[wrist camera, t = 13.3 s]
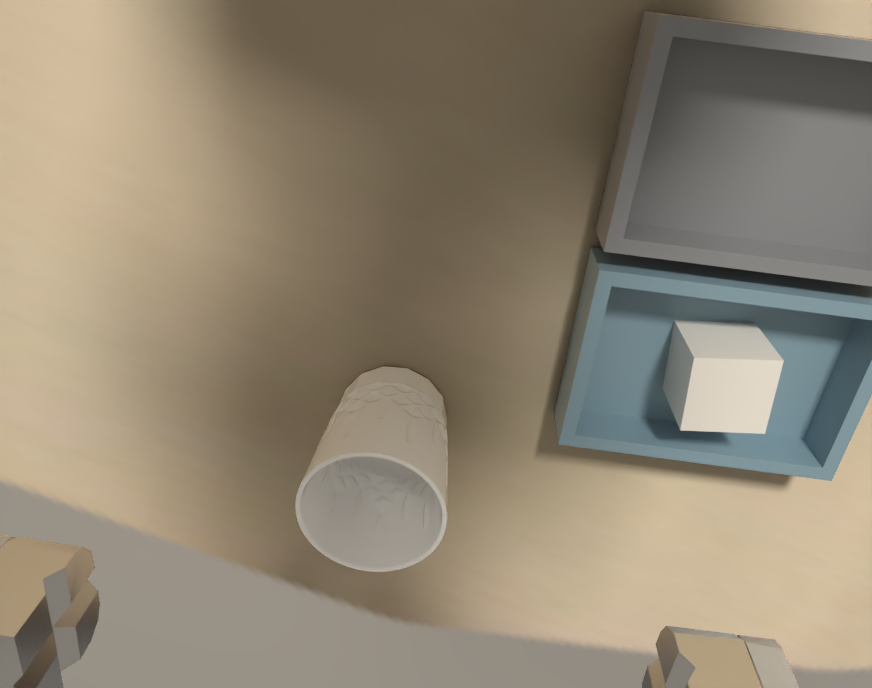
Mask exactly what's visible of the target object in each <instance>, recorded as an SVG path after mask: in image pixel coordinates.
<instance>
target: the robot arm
mask: <svg viewBox="0 0 872 688" xmlns="http://www.w3.org/2000/svg"><path fill="white" fill-rule="evenodd" d="M94 568H95V566H94V561H93V556H92V551H91V550H89V549H87V548H84V547H78V546H72V545H65V544H59V543H53V542H47V541H41V540H35V539H29V538H22V537H13V536H6V535H0V688H63V682H62V676H61V671H63V670H64V669H66V668H67V667H69V666H70V665H72V664H74V663H75V662H77V661H78V660H80V659H81V657H82V655H83V654H84V652H85V650H86V649H87V647H88V645H89V643H90V642H91V639H92V637H93V634H94V630H95V628H96V625H97V622H98V617H99V607H100V601H99V593H98V590H97V589H96V588H95V587H94V586H93V585H92V584H91V583H90V582H89V581H88V577H89V576H90V574H91V573H92V571H93V570H94ZM656 647H657V651H658V656H659V659H658V660H656V661H655V662H653V663H651V664H650V665H648V666H647V670H646V673H645V676H644V679H643V682H642V688H799V686H798V683H797V681H796V679H795V677H794V674H793V672H792V670H791V668H790V665H789V663H788V661H787V659H786V656H785V654H784V652H783V650H782V647H781V646H780V645H779V644H778V643H777V642H776V641H775V640H773V639H765V638H757V637H749V636H742V635H737V636H736V635H734V634H728V633H720V632H712V631H704V630H696V629H688V628H679V627H671V626H666V627H665V628H664V629H663V630H662V631H661V632H660V635H659V637H658V640H657V642H656Z"/></svg>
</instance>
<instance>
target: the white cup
mask: <svg viewBox="0 0 872 688" xmlns="http://www.w3.org/2000/svg"><path fill="white" fill-rule="evenodd" d="M446 427H447V416H446V411H445V406H444V401H443V396H442V395H441V394H440V393H439V391H438V390H437V389H436V388H435V386H434V385H433V384H432V383H431V381H430V380H429V379H427V378H425V377H423V376H422V375H420V374H418V373H416V372H414V371H412V370H410V369H408V368H398V367H386V366H383V367H380V368H377V369H374V370H371V371H368V372H365V373H362V374H360V375H359V376H358V377H357V378H356V379H355V380H354V381H353V382H352V383H351V384H350V385H349V386H348V387H347V388H346V390H345V392H344V394H343V397H342V399H341V401H340V404H339V406H338V408H337V409H336V411H335V412H334V414H333V415H332V417H331V419H330V421H329V424H328V426H327V428H326V430H325V432H324V434H323V436H322V438H321V440H320V442H319V444H318V446H317V449H316V451H315V453H314V455H313V458H312V460H311V462H310V465H309V467H308V469H307V471H306V473H305V476H304V478H303V480H302V482H301V484H300V487H299V489H298V492H297V495H296V501H295V512H296V517H297V521H298V524H299V526H300V529H301V531H302V532H303V534H304V536H305V537H306V538H307V540H308V541H309V542H310V543H311V544H312V545H313V546H314V547H315V548H316V549H317V550H318V551H319V552H320V553H322V554H323V555H324V556H326V557H327V558H329V559H331V560H333V561H334V562H336V563H339V564H341V565H343V566H346V567H349V568H352V569H356V570H361V571H368V572H389V571H396V570H400V569H404V568H407V567H410V566H412V565H414V564H417V563H418V562H420V561H422V560H423V559H425V558H426V557H428V556H429V555H430V554H431V553H432V552H433V551H434V550H435V549H436V548H437V546H438V545H439V544H440V542H441V540H442V538H443V536H444V533H445V530H446V526H447V495H448V438H447V430H446Z"/></svg>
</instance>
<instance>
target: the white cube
mask: <svg viewBox="0 0 872 688" xmlns="http://www.w3.org/2000/svg"><path fill="white" fill-rule="evenodd" d="M783 362H784V360H783V359H782V358H781V356H780V355H779V354H778V352H777V351H776V350H775V348H774V347H773V346H772V344H771V343H770V342H769V340H768V339H767V338H766V337H765V335H764V334H763V333H762V331H761V330H760V329H759V327H758V326H757V325H756V323H748V322H716V321H684V320H674V325H673V330H672V336H671V342H670V348H669V354H668V359H667V365H666V371H665V377H664V383H663V390H664V393H665V395H666V398H667V400H668V402H669V405H670V407H671V410H672V412H673V414H674V417H675V419H676V422H677V424H678V426H679V429H680V430H681V431H706V432H731V433H756V434H765V432H766V428H767V424H768V420H769V416H770V413H771V409H772V405H773V401H774V397H775V393H776V389H777V385H778V381H779V378H780V374H781V370H782V366H783Z"/></svg>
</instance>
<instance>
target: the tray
mask: <svg viewBox="0 0 872 688" xmlns="http://www.w3.org/2000/svg"><path fill="white" fill-rule="evenodd" d="M595 231H596V234H597V236H598V239H599V241H600V244H601V246H602V249H603V251H604V252H610V253H618V254H625V255H633V256H641V257H649V258H656V259H664V260H672V261H679V262H687V263H695V264H702V265H710V266H718V267H725V268H733V269H741V270H749V271H756V272H764V273H772V274H779V275H787V276H795V277H802V278H810V279H818V280H825V281H833V282H841V283H848V284H856V285H864V286H872V40H871V39H863V38H855V37H847V36H839V35H831V34H824V33H816V32H808V31H800V30H792V29H784V28H776V27H769V26H761V25H753V24H745V23H737V22H729V21H721V20H713V19H706V18H698V17H690V16H682V15H674V14H666V13H658V12H651V11H644V14H643V18H642V22H641V27H640V31H639V36H638V40H637V45H636V49H635V54H634V58H633V62H632V67H631V71H630V76H629V80H628V85H627V89H626V94H625V98H624V102H623V107H622V111H621V116H620V120H619V125H618V129H617V134H616V138H615V142H614V147H613V151H612V156H611V160H610V165H609V169H608V174H607V178H606V183H605V187H604V191H603V196H602V200H601V205H600V209H599V214H598V218H597V223H596V227H595Z"/></svg>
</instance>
